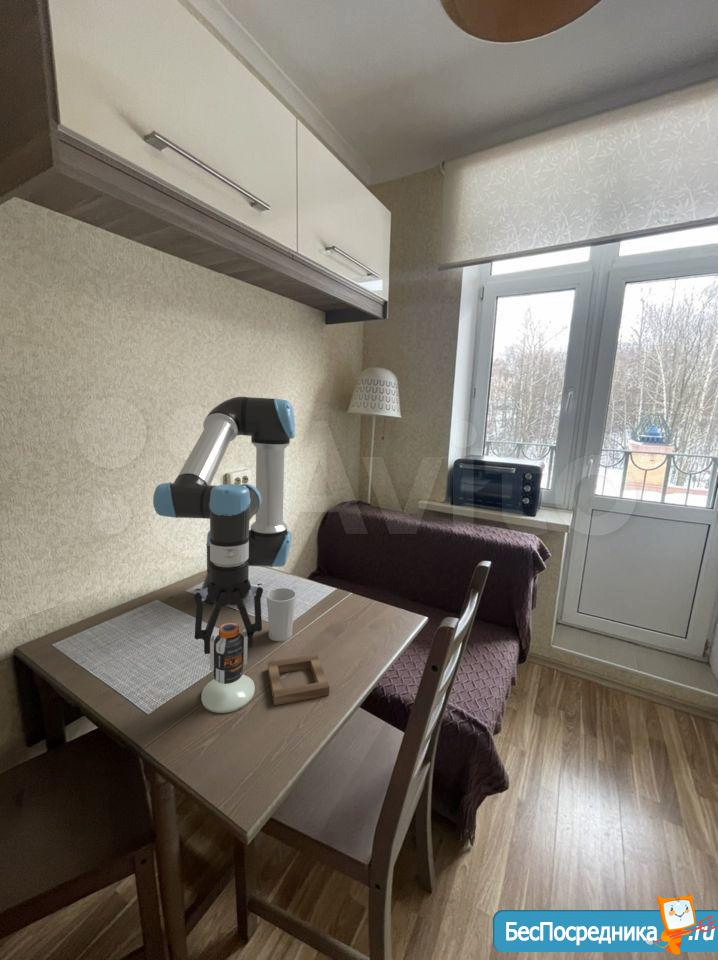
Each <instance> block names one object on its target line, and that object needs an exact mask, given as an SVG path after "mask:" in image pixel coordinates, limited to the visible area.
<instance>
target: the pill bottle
mask: <svg viewBox="0 0 718 960" xmlns="http://www.w3.org/2000/svg"><path fill="white" fill-rule="evenodd" d="M243 646H244V638H243V633H241V632H240V626H239V624H238V623H234V622H226V623H224V624H221V625H220V626H219V628H218V635H217V636H216V637H214V670H213V679H215V681H217V682H218V683H221V684H230V683H233V682H235V681H237V680H239V679H240V678H241V676H242V675H244V674H243V673H244V665H243Z"/></svg>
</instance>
